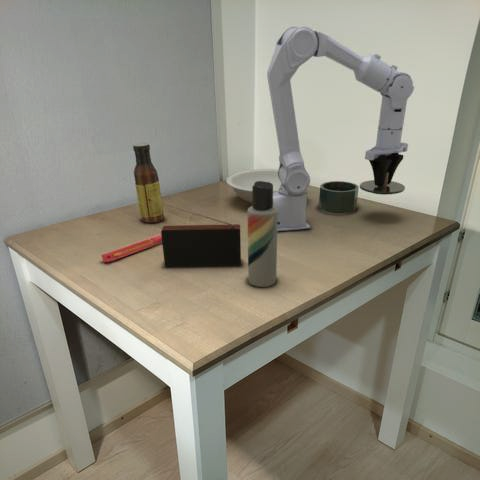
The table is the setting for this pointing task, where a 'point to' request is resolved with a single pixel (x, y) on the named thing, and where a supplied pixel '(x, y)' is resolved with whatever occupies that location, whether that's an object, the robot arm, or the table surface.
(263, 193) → the lotion bottle
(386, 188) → the lid
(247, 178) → the soup bowl
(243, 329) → the table surface
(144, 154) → the sauce bottle
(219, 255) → the radio
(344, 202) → the pot
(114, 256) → the long red bar
